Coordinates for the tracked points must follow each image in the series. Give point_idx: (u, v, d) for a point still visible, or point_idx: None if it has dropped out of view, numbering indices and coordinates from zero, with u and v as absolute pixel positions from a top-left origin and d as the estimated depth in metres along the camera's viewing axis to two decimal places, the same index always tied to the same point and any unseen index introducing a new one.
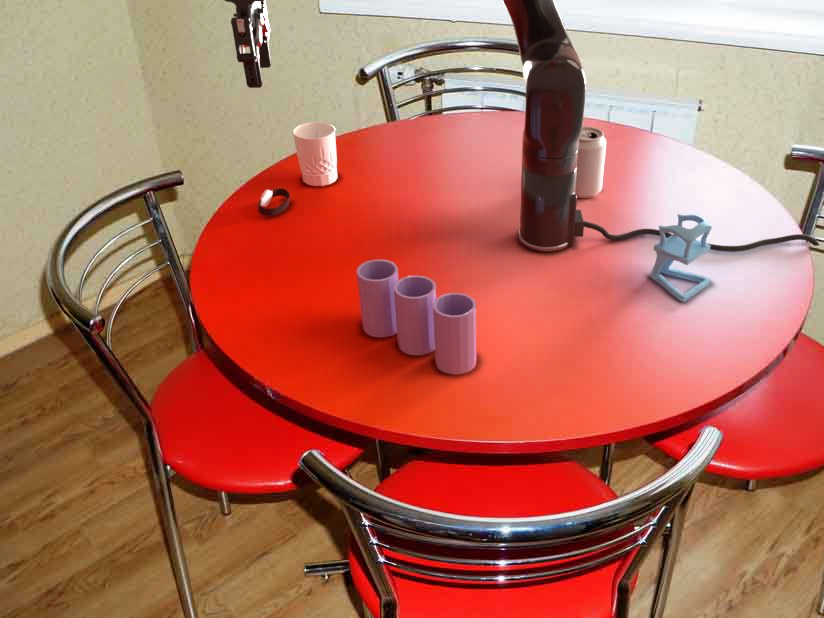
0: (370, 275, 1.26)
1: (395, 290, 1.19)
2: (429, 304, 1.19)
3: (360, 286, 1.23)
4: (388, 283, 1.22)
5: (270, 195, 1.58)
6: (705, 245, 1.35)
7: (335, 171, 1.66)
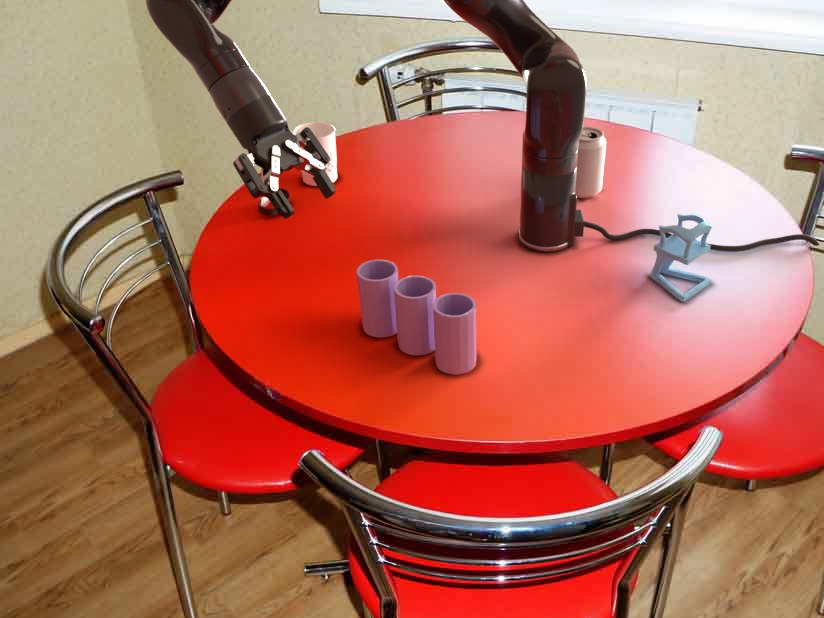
0: (370, 275, 1.26)
1: (395, 290, 1.19)
2: (429, 304, 1.19)
3: (360, 286, 1.23)
4: (388, 283, 1.22)
5: None
6: (705, 245, 1.35)
7: (335, 171, 1.66)
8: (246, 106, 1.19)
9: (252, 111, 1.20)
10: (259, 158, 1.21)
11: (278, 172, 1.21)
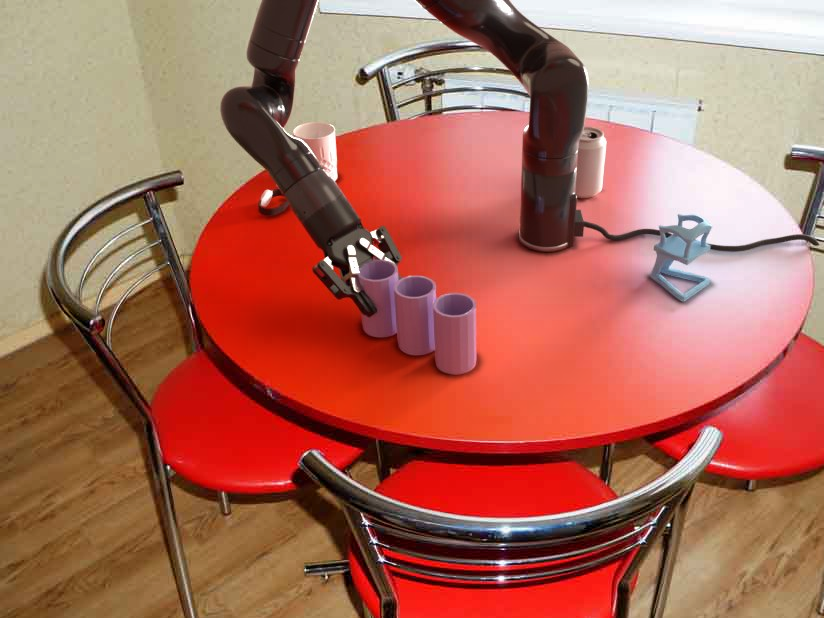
0: (370, 275, 1.26)
1: (395, 290, 1.19)
2: (429, 304, 1.19)
3: None
4: (388, 283, 1.22)
5: (270, 195, 1.58)
6: (705, 245, 1.35)
7: (335, 171, 1.66)
8: (321, 209, 1.20)
9: (327, 214, 1.20)
10: (335, 259, 1.22)
11: (353, 272, 1.22)
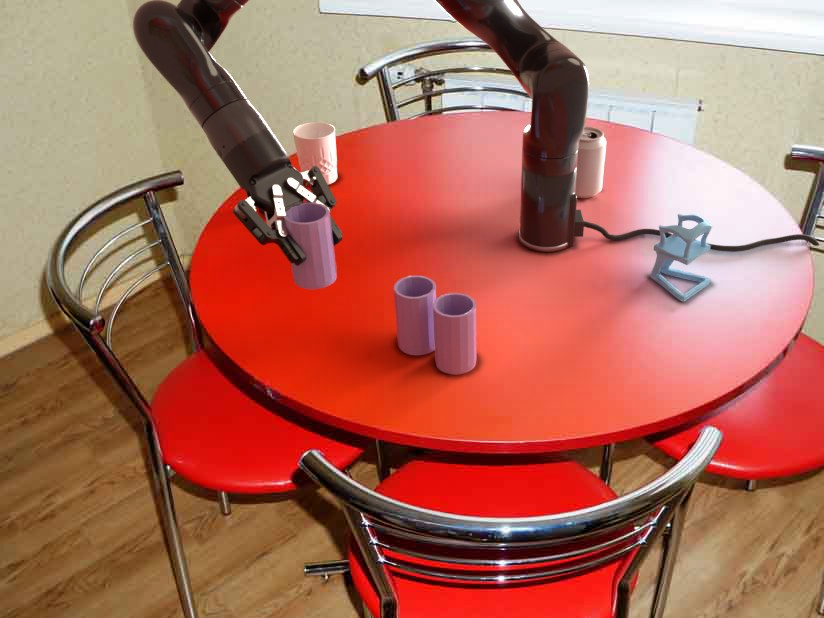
0: (300, 220, 1.14)
1: (395, 290, 1.19)
2: (429, 304, 1.19)
3: (287, 230, 1.11)
4: (317, 227, 1.10)
5: None
6: (705, 245, 1.35)
7: (335, 171, 1.66)
8: (242, 143, 1.08)
9: (248, 148, 1.08)
10: (258, 200, 1.09)
11: (279, 214, 1.10)
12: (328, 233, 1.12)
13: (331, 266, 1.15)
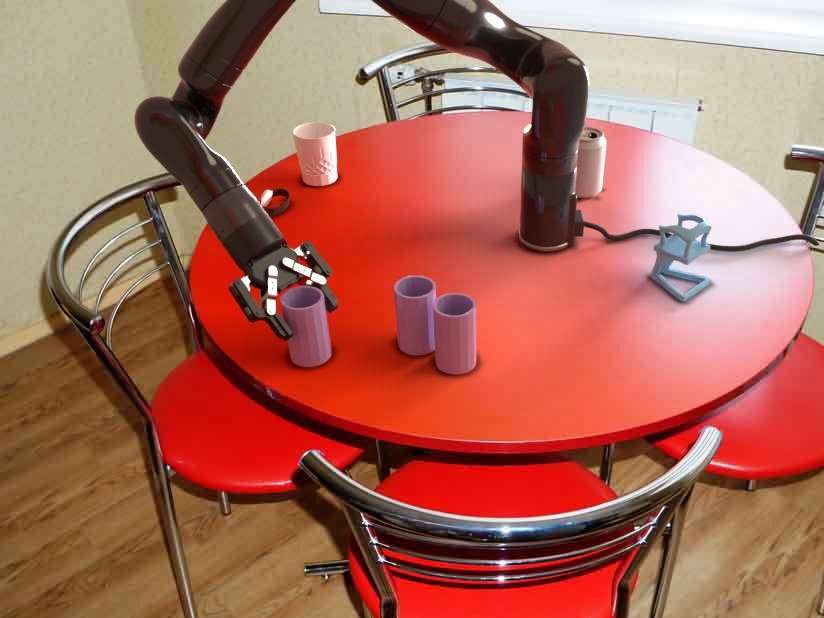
0: (296, 302, 1.21)
1: (395, 290, 1.19)
2: (429, 304, 1.19)
3: (284, 314, 1.17)
4: (312, 312, 1.16)
5: (270, 195, 1.58)
6: (705, 245, 1.35)
7: (335, 171, 1.66)
8: (239, 228, 1.14)
9: (246, 233, 1.14)
10: (255, 281, 1.15)
11: (275, 294, 1.16)
12: (323, 316, 1.18)
13: (326, 345, 1.21)
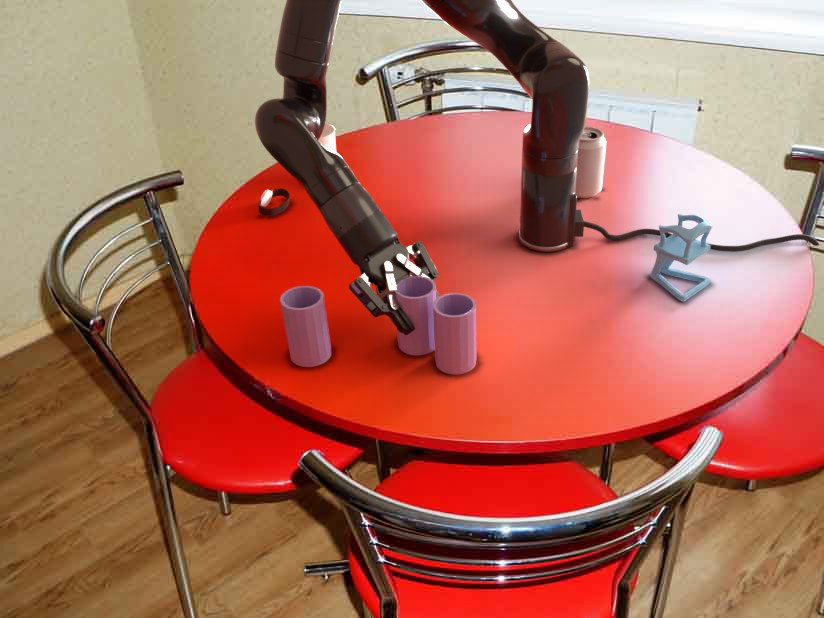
0: (296, 302, 1.21)
1: None
2: (429, 304, 1.19)
3: (284, 314, 1.17)
4: (312, 312, 1.16)
5: (270, 195, 1.58)
6: (705, 245, 1.35)
7: None
8: (358, 225, 1.17)
9: (364, 229, 1.17)
10: (371, 276, 1.18)
11: (391, 289, 1.19)
12: (323, 316, 1.18)
13: (326, 345, 1.21)
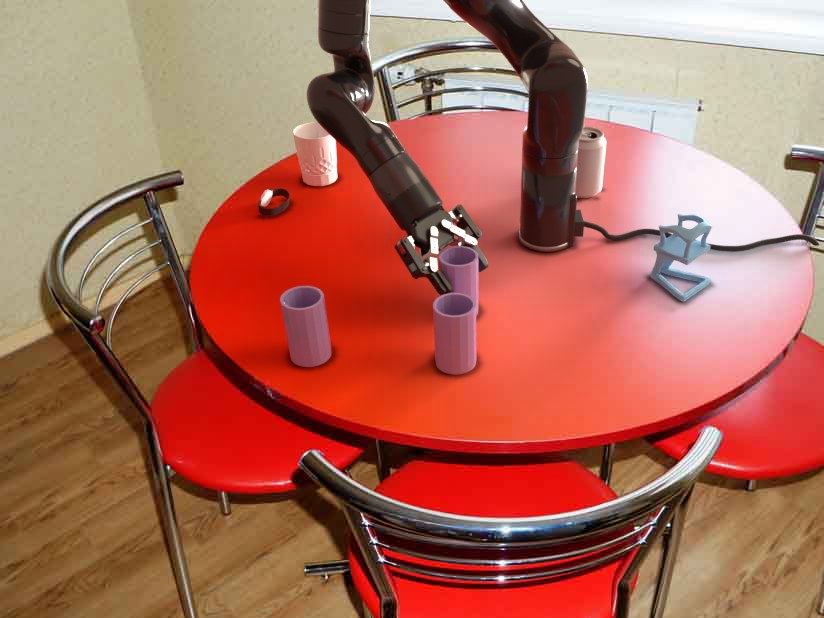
0: (296, 302, 1.21)
1: (440, 259, 1.26)
2: (472, 272, 1.26)
3: (284, 314, 1.17)
4: (312, 312, 1.16)
5: (270, 195, 1.58)
6: (705, 245, 1.35)
7: (335, 171, 1.66)
8: (406, 191, 1.23)
9: (412, 195, 1.23)
10: (419, 240, 1.24)
11: (437, 253, 1.25)
12: (323, 316, 1.18)
13: (326, 345, 1.21)
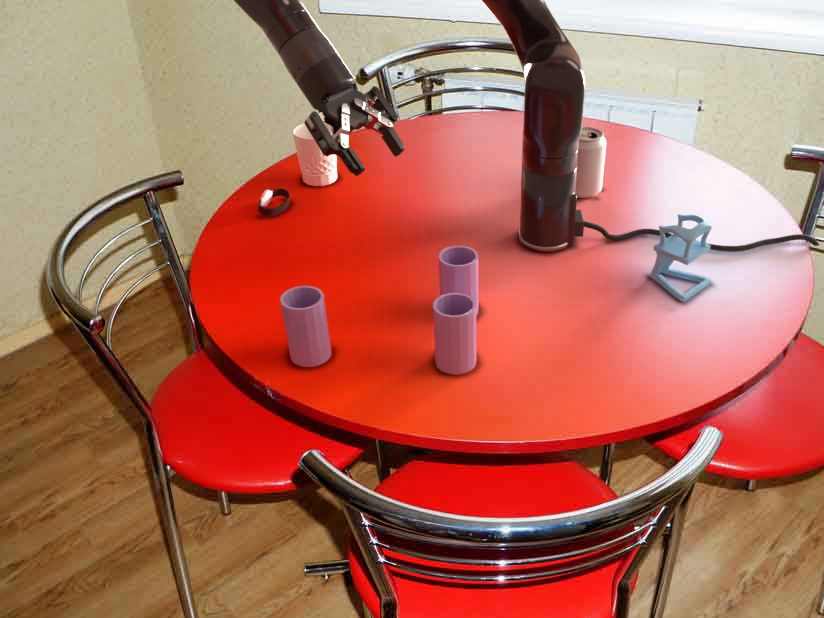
0: (296, 302, 1.21)
1: (440, 259, 1.26)
2: (472, 272, 1.26)
3: (284, 314, 1.17)
4: (312, 312, 1.16)
5: (270, 195, 1.58)
6: (705, 245, 1.35)
7: (335, 171, 1.66)
8: (315, 65, 1.21)
9: (321, 70, 1.21)
10: (329, 116, 1.22)
11: (348, 129, 1.23)
12: (323, 316, 1.18)
13: (326, 345, 1.21)
